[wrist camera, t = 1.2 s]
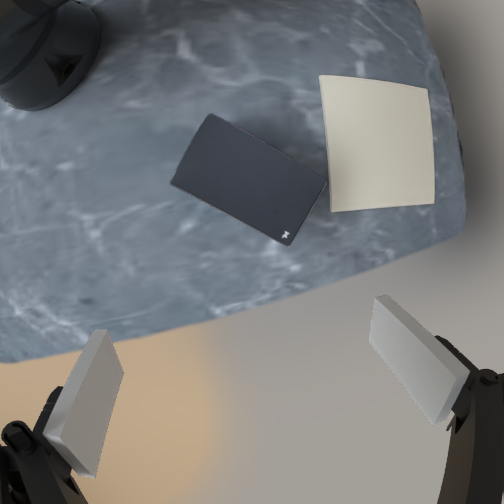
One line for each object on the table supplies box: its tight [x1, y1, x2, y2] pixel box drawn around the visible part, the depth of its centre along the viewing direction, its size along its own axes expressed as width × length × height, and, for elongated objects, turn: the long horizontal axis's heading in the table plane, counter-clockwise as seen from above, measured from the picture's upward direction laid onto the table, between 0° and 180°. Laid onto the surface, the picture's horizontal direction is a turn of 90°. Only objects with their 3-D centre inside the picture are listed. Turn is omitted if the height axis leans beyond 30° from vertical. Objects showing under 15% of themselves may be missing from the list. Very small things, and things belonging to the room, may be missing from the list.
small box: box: [170, 113, 327, 247], centre depth 26 cm, size 11×6×10 cm, turn 60°
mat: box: [319, 75, 435, 212], centre depth 31 cm, size 16×16×1 cm
